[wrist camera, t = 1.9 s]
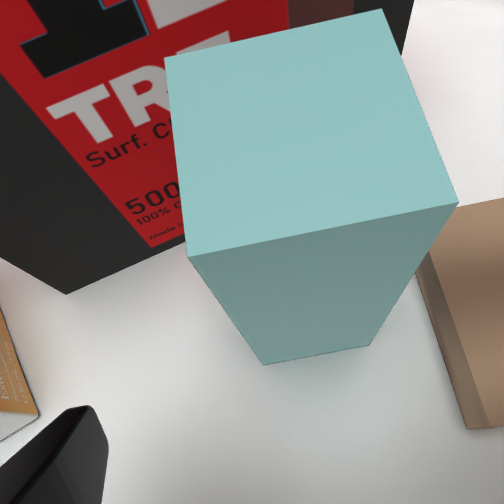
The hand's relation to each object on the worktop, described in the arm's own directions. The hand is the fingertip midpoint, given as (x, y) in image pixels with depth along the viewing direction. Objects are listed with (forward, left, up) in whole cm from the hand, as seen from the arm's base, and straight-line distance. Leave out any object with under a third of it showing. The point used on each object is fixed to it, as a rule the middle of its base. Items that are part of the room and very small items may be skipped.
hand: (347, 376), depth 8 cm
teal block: (+4, 0, -11) cm, 12 cm away
